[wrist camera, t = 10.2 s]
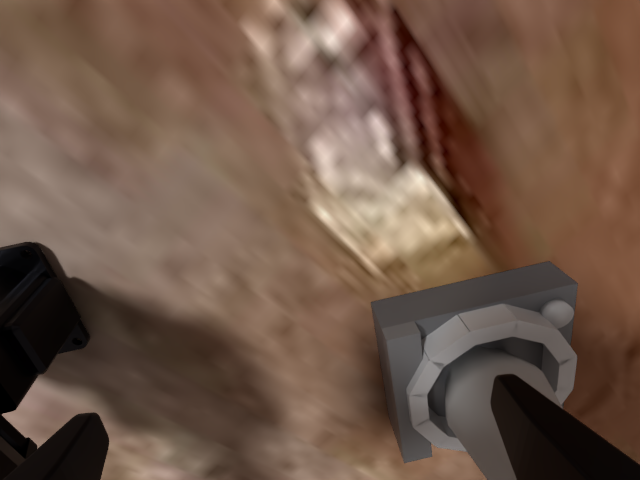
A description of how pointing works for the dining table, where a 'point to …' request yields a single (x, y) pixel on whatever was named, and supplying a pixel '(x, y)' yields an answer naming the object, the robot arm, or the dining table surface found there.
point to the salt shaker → (485, 404)
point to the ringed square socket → (469, 343)
